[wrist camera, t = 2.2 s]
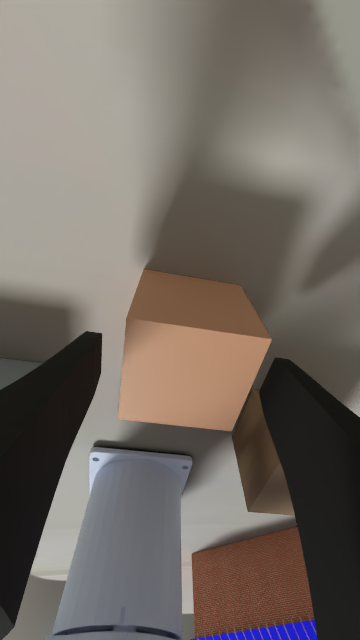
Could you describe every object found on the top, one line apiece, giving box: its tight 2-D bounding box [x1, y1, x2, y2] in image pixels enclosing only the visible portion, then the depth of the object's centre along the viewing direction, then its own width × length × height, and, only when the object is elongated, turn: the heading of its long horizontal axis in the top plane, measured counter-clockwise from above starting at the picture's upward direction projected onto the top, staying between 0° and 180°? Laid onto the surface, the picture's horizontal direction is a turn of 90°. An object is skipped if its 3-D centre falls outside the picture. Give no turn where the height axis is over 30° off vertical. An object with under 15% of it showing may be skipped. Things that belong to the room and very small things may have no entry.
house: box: [191, 527, 317, 640], centre depth 25 cm, size 12×20×12 cm, turn 122°
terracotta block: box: [118, 269, 272, 431], centre depth 12 cm, size 5×5×5 cm
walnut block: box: [232, 390, 295, 515], centre depth 16 cm, size 5×5×5 cm
